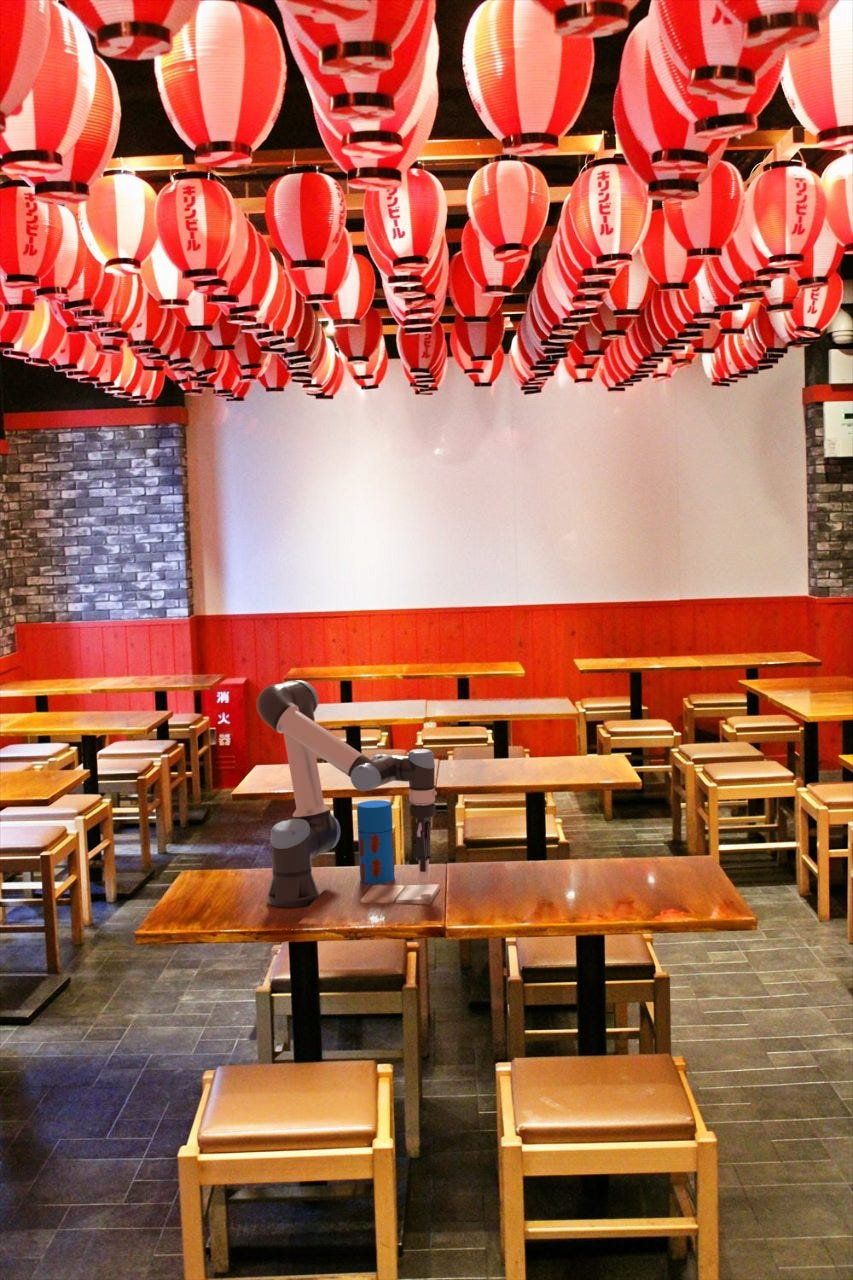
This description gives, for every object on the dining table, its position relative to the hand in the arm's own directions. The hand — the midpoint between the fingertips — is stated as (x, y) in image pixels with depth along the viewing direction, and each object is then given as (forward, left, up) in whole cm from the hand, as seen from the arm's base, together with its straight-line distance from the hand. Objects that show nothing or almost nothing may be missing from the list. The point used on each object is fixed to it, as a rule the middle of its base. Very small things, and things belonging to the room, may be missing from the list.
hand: (424, 881), depth 351 cm
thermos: (-18, +17, -6) cm, 26 cm away
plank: (-2, 0, -5) cm, 5 cm away
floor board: (-7, 0, -6) cm, 9 cm away
